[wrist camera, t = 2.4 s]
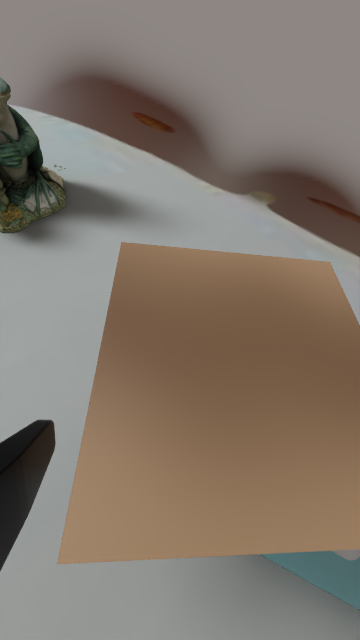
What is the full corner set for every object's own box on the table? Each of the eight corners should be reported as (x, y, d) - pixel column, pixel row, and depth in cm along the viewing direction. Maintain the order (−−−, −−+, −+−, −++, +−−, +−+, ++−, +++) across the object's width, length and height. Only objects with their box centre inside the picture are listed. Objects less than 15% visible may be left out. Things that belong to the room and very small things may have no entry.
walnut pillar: (212, 465, 14) (462, 544, 3) (134, 466, 13) (57, 563, 2) (208, 386, 16) (329, 262, 5) (141, 384, 16) (121, 242, 5)
